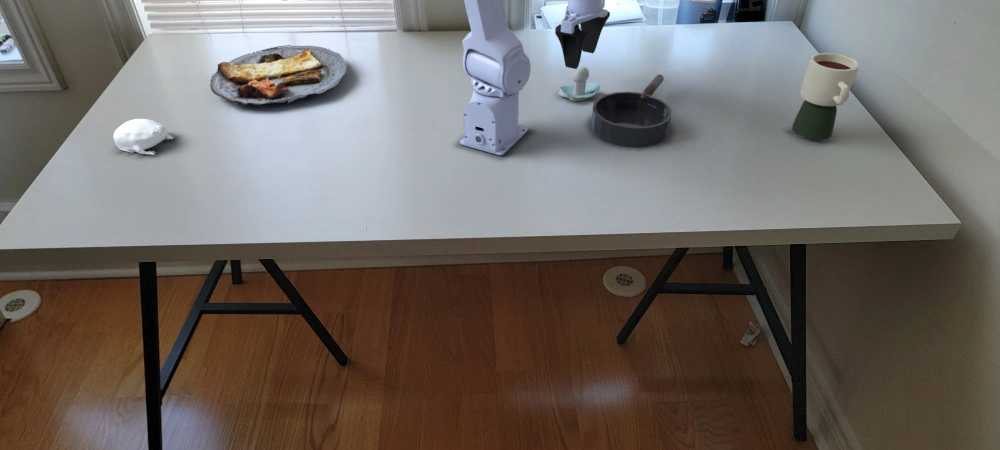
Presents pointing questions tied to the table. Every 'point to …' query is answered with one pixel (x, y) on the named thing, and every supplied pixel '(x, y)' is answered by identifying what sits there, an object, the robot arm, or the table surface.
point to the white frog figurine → (140, 135)
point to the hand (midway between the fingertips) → (580, 59)
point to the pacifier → (580, 87)
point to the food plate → (278, 74)
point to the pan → (630, 119)
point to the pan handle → (652, 87)
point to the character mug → (824, 94)
